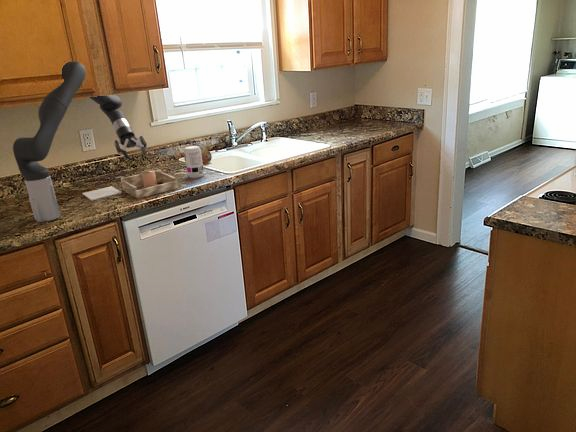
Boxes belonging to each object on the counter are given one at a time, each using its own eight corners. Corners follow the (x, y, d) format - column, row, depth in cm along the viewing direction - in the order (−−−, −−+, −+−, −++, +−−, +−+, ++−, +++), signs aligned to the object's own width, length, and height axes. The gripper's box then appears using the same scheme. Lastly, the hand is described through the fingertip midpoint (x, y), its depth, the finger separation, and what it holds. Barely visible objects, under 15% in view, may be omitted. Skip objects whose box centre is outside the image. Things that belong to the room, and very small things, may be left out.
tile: (91, 200, 204) (91, 199, 204) (82, 194, 214) (82, 193, 214) (122, 193, 212) (121, 192, 212) (111, 187, 222) (111, 186, 222)
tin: (185, 166, 252) (183, 152, 249) (185, 165, 255) (183, 150, 252) (212, 163, 256) (210, 148, 253) (211, 162, 258) (210, 147, 255)
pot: (147, 192, 211) (144, 173, 207) (142, 190, 215) (139, 171, 212) (159, 189, 214) (156, 170, 211) (154, 186, 218) (151, 168, 215)
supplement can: (185, 178, 230) (180, 149, 224) (192, 173, 237) (188, 145, 232) (199, 178, 227) (195, 149, 222) (206, 173, 235) (203, 145, 229)
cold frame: (137, 198, 203) (135, 185, 201) (123, 190, 216) (120, 178, 214) (178, 188, 214) (176, 175, 212) (162, 180, 228) (160, 169, 225)
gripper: (109, 127, 215) (123, 154, 211) (138, 122, 223) (151, 148, 219) (108, 137, 221) (121, 163, 217) (136, 132, 229) (149, 157, 225)
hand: (136, 156), depth 218 cm, fingers open, 8 cm apart
